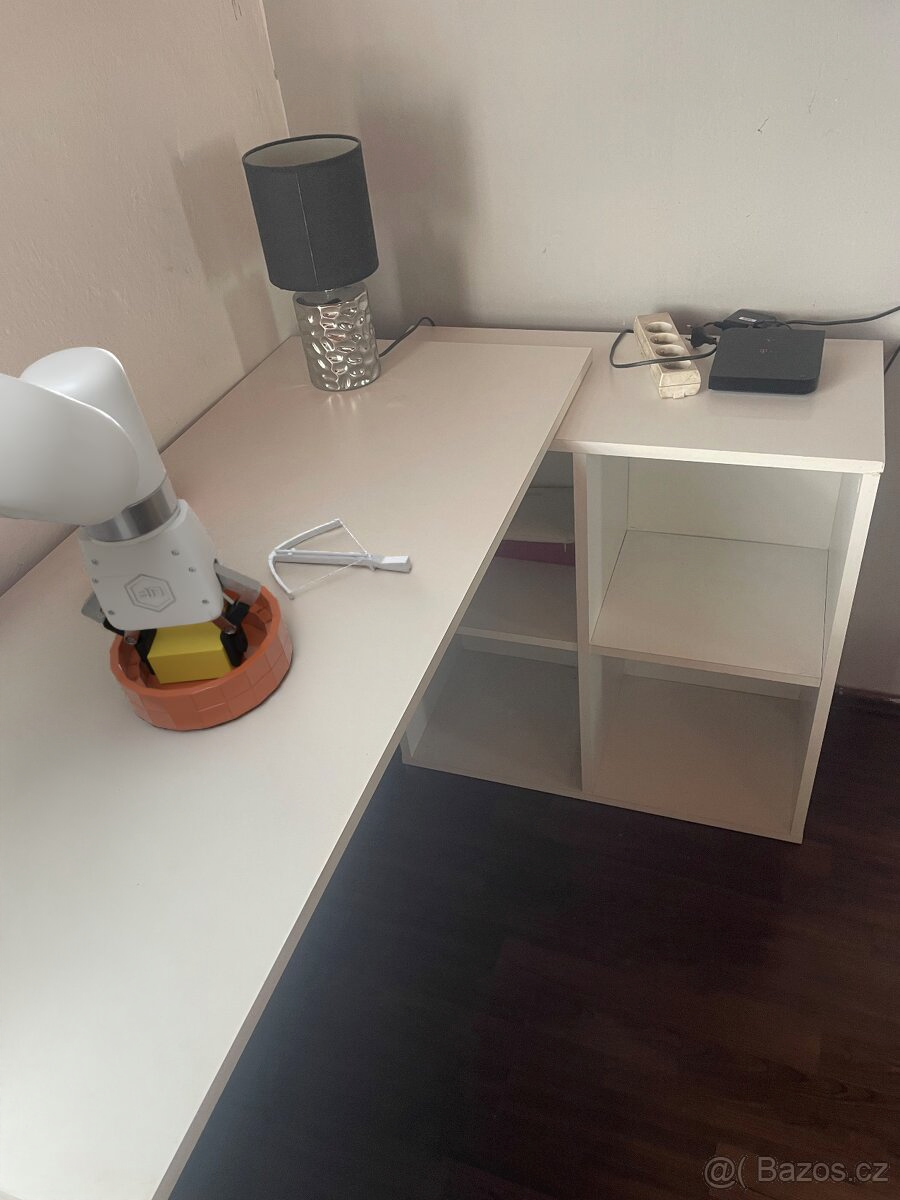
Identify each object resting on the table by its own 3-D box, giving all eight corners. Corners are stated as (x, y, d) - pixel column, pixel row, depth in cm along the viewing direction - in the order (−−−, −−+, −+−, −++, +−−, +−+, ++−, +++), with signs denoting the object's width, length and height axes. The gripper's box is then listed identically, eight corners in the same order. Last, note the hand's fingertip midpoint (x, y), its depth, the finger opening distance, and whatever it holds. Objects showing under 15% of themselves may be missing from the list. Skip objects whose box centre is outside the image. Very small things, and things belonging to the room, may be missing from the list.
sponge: (233, 676, 79) (222, 649, 77) (160, 684, 80) (146, 657, 78) (241, 646, 82) (230, 619, 80) (170, 653, 83) (157, 627, 81)
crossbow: (249, 601, 90) (242, 586, 89) (300, 529, 99) (294, 514, 97) (388, 611, 84) (383, 595, 83) (429, 532, 93) (425, 517, 92)
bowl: (109, 742, 77) (86, 704, 73) (154, 622, 88) (136, 585, 85) (281, 725, 75) (265, 686, 72) (303, 606, 87) (290, 568, 84)
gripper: (7, 545, 67) (98, 699, 79) (224, 519, 66) (284, 680, 77) (40, 490, 73) (121, 642, 84) (241, 466, 71) (295, 623, 83)
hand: (199, 659), depth 81 cm, fingers closed on sponge, 7 cm apart
